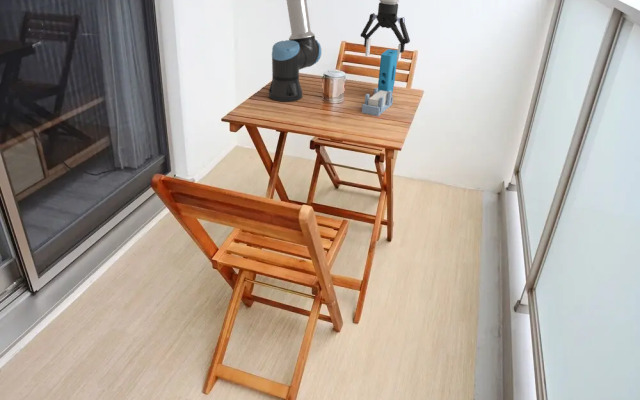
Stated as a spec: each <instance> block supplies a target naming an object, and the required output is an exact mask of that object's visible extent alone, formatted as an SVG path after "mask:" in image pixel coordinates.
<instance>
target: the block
mask: <svg viewBox="0 0 640 400" xmlns="http://www.w3.org/2000/svg"><path fill="white" fill-rule="evenodd" d="M397 53H398V49H389V48H388V49H386V50H385V51H384V52H382V53H381V54H380V62H379V73H378V81H377V82H378V83H377V88H378V92H379V91H380V90H382V91H387V92H388V91H389V90H391V91H392V94H393V92H394V86H395V80H396V74H397V65H398V61H397Z"/></svg>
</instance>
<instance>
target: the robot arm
mask: <svg viewBox="0 0 640 400" xmlns="http://www.w3.org/2000/svg"><path fill="white" fill-rule="evenodd" d="M399 2H400V0H379V3H378V7H377V14H376V13H374V12H373V13H370V14H369V18H368V21H367V23H366V25H365V26H364V28H363V30H362V31H361V33H360V37H361V38H363V39H364V41H363V42H364V43H363V47H364V48H365V54H364V55H365V57H368V56H370V52H371V51H370V50H371V43H372V41H371V40H372V38H370V37H372V35H373V34H375V32H376V31H377V30H378V29H379V28H383V29H384V28H386V29H391V31H392V32H393V33H394V34H395V37H396V38H397V40H398V42H399V44H398V46H397V47H398V48H397V50H398V53H397V62H400V61H401V60H402V59H401V57H402V54H403V53H404V52H405V47H406V46H405V45H407V44H409V43H411V39H410V37H409V34H408V29H407V26H406V23H405V16H404V17H398V12H399V11H398V9H399V4H398V3H399ZM286 5H287V12H288V19H289V25H290V33H291V35H290V36H289V37H288V39H286V40H280V41H277V42H275V43H274V44H273V46H272V52H271V60H272V61H271V62H272V63H271V64H272V66H271V68H272V69H271V71H272V72H271V73H272V74H271V75H272V79H271V83H270V86H269V89H268V98H269V99H271V100H274V101H277V102H285V103H286V102H288V103H289V102H296V101H299V100H301V99H302V98H303V90H302V86H301V83H300V82H301V81H300V79H299V78H300V77H299V75H300V70H303V69H306V68H310V67H312V66H314V65H315V64H317V63H318V62H319V61H320V59H321V57H322V47H321V44H320V42H319V41H318V40H317V39H316V36H315V33H313V32H312V31H311V24H310V17H309V11H308V3H307V0H286ZM374 20H376V21H377V23H376V24H375V25H374V26H373V28H371V30H370V27H371V26H372V24H373V23H374ZM397 22H398V25H399V27H398V26H397V24H396V23H397ZM399 28H400V30H401V31H400V30H399ZM368 31H369V32H368Z"/></svg>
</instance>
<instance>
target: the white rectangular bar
mask: <svg viewBox="0 0 640 400" xmlns="http://www.w3.org/2000/svg"><path fill="white" fill-rule="evenodd" d="M380 97H384V101H383V106H384V105H386V104H387V97H388V92H387V91H382V90H380V91H379V92H377V93H376V94H374V93H373V95H372V96H369V101H368V105H370V106H375V107H379V100H380Z"/></svg>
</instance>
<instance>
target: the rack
mask: <svg viewBox="0 0 640 400" xmlns="http://www.w3.org/2000/svg"><path fill="white" fill-rule="evenodd" d="M377 92H378V87H374V88H373V95H374V94H376V93H377ZM370 97H371V96H370V93H366V94H365V96H364V103H363V104H362V105H361V113H362V114H366V115H370V116H371V115H372V116H375V117H379V116H380V115H382V114H383V113H384V112H386V110H388V109H389V108H390V107H391V106H393V102H394V97H393V93H392V91H391V90H389V91H388V97H387V104H386V105H384V106H383V101H384V97H380V100H379V107H375V106H370V105H368V101H369V98H370Z"/></svg>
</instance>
